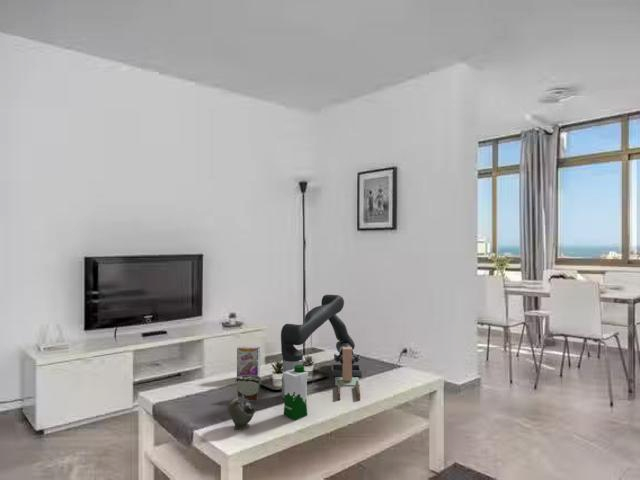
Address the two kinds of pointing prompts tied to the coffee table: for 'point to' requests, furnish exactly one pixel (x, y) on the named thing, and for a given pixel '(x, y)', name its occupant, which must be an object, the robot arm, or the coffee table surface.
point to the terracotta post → (347, 364)
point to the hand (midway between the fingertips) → (347, 362)
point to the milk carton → (295, 392)
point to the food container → (248, 386)
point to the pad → (346, 383)
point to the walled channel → (356, 390)
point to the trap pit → (337, 369)
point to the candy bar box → (248, 360)
